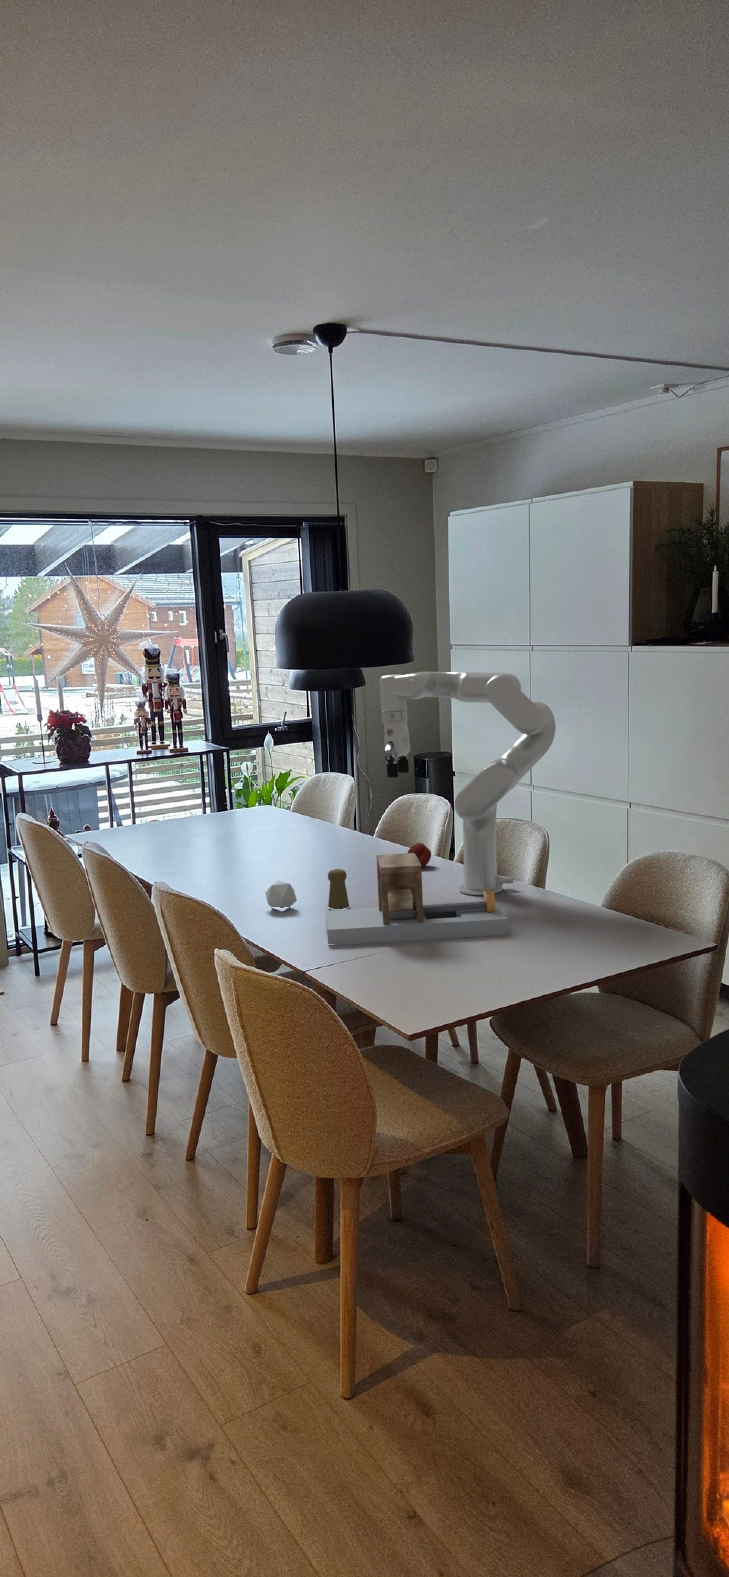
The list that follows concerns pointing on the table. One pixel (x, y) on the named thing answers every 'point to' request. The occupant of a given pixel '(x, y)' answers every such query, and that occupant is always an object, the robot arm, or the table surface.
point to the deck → (412, 925)
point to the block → (400, 900)
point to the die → (281, 895)
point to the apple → (421, 853)
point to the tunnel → (399, 880)
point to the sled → (447, 907)
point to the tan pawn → (337, 889)
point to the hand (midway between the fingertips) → (398, 774)
